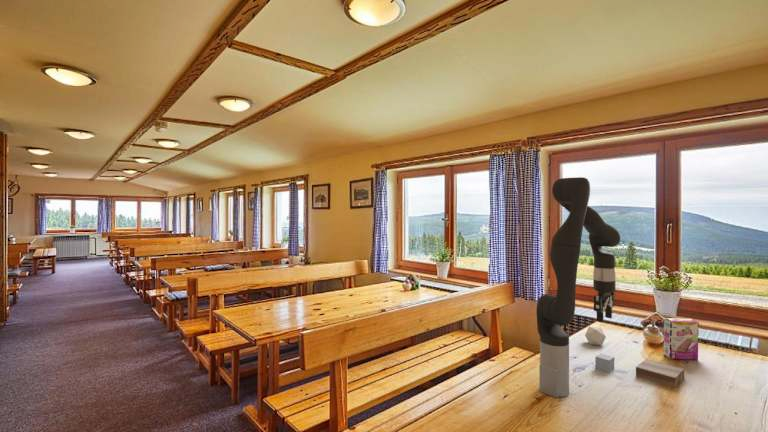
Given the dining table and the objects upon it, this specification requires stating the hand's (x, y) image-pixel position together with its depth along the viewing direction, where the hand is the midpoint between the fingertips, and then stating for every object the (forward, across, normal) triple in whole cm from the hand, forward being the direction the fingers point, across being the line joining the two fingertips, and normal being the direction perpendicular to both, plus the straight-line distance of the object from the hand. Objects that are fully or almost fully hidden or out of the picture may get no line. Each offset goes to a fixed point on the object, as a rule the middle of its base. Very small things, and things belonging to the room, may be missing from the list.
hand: (604, 319), depth 145 cm
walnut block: (+20, +8, -16) cm, 27 cm away
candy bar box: (+20, +37, -16) cm, 45 cm away
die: (+20, +27, +14) cm, 36 cm away
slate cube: (+20, 0, 0) cm, 20 cm away
